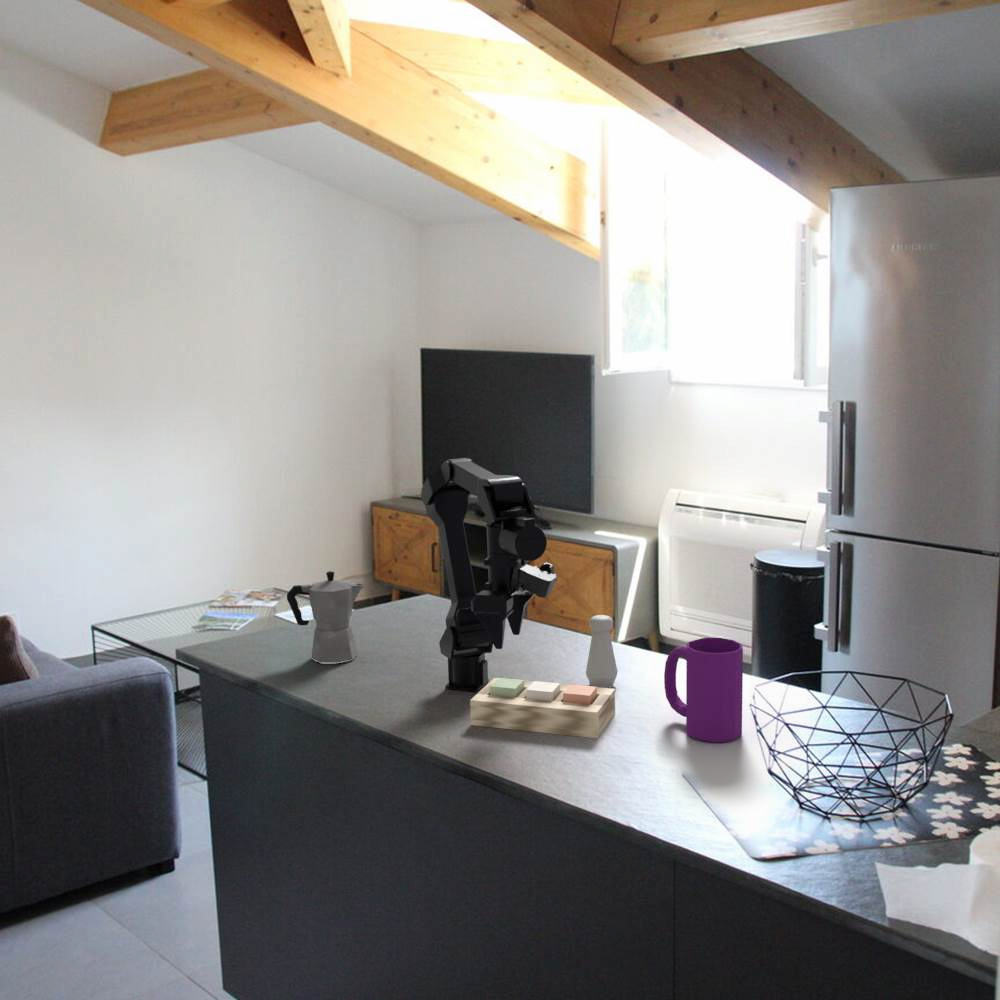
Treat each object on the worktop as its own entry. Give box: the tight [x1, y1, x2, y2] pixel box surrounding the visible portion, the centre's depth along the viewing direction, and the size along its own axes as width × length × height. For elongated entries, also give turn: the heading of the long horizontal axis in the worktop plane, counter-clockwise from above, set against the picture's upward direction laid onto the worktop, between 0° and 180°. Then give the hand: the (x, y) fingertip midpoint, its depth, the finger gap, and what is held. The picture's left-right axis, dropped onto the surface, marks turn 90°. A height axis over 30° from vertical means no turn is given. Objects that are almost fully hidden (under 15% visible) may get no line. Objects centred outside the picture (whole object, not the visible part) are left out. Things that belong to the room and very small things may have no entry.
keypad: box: [469, 677, 616, 739], centre depth 197 cm, size 22×12×4 cm, turn 70°
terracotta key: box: [563, 684, 597, 705], centre depth 194 cm, size 5×5×3 cm
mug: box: [663, 637, 744, 744], centre depth 190 cm, size 9×16×15 cm, turn 37°
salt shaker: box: [585, 614, 618, 688], centre depth 213 cm, size 6×6×13 cm
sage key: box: [490, 677, 525, 698], centre depth 199 cm, size 5×5×3 cm
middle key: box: [526, 680, 561, 701], centre depth 196 cm, size 5×5×3 cm
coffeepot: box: [286, 570, 365, 662], centre depth 232 cm, size 15×9×18 cm, turn 102°
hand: (507, 641), depth 197 cm, fingers open, 9 cm apart
